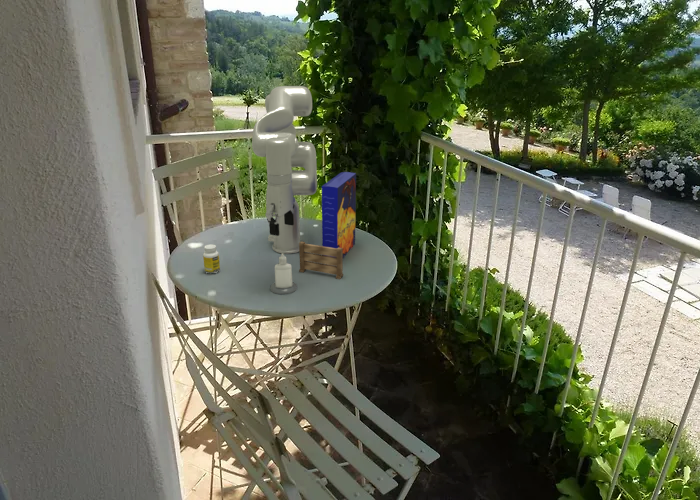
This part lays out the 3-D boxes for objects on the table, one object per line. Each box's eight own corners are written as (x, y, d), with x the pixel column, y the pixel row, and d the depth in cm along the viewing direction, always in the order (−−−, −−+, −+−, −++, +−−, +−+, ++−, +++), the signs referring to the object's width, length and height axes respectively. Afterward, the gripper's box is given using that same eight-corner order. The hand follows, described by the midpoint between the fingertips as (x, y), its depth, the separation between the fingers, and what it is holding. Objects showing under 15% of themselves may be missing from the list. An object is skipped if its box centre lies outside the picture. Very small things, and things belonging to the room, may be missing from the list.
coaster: (265, 291, 167) (265, 289, 166) (278, 280, 174) (278, 278, 174) (289, 296, 164) (289, 294, 163) (301, 284, 171) (301, 283, 171)
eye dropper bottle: (288, 290, 166) (286, 257, 161) (273, 287, 168) (271, 254, 163) (294, 285, 170) (293, 252, 165) (279, 282, 172) (278, 250, 167)
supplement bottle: (215, 275, 177) (212, 250, 174) (201, 273, 179) (198, 248, 175) (223, 269, 182) (220, 244, 178) (210, 267, 184) (207, 242, 180)
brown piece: (299, 271, 181) (298, 243, 177) (302, 268, 184) (302, 240, 179) (340, 279, 176) (340, 250, 171) (343, 275, 178) (343, 247, 174)
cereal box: (337, 265, 187) (337, 187, 175) (322, 262, 188) (321, 185, 177) (355, 244, 206) (356, 172, 194) (341, 242, 208) (341, 171, 196)
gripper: (282, 170, 164) (284, 219, 171) (254, 184, 149) (258, 237, 156) (303, 172, 161) (304, 222, 168) (276, 187, 146) (279, 241, 153)
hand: (282, 229), depth 162 cm, fingers open, 9 cm apart
